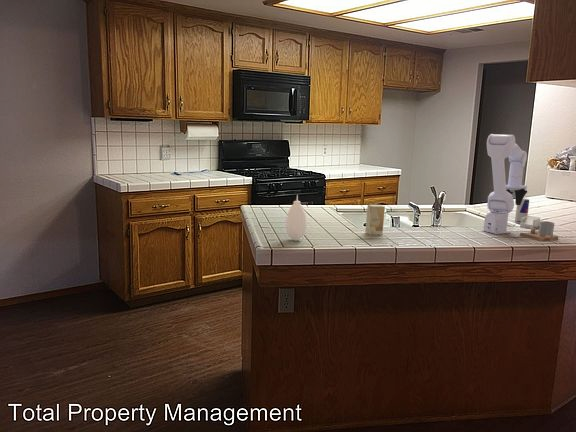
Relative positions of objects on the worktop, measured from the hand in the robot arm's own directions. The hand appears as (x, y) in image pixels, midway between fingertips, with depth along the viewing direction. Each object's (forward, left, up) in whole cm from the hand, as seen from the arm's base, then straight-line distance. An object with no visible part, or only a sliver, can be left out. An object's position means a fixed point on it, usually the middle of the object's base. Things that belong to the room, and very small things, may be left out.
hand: (512, 205), depth 222 cm
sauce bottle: (-109, +8, -11) cm, 110 cm away
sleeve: (-7, -23, -9) cm, 26 cm away
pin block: (-7, -20, -10) cm, 24 cm away
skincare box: (-72, +8, -11) cm, 73 cm away
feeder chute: (+10, -3, -10) cm, 15 cm away
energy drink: (+15, +6, -11) cm, 19 cm away
